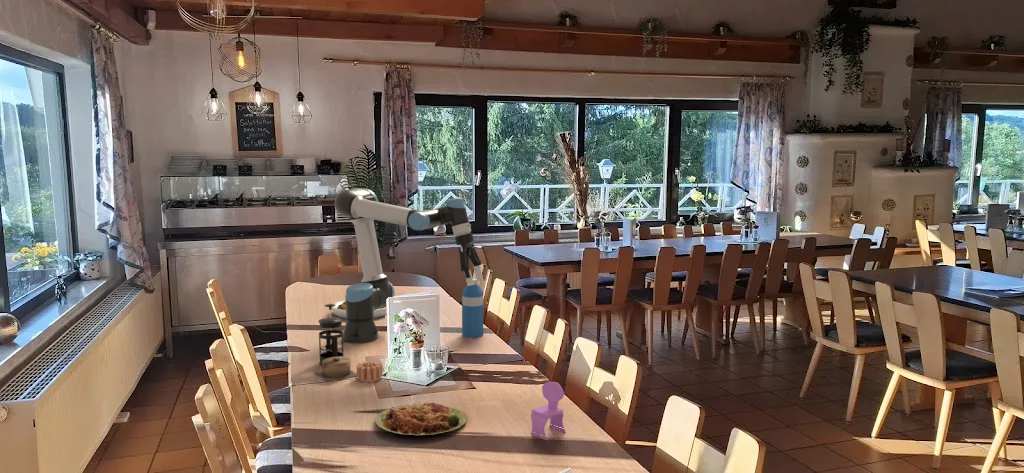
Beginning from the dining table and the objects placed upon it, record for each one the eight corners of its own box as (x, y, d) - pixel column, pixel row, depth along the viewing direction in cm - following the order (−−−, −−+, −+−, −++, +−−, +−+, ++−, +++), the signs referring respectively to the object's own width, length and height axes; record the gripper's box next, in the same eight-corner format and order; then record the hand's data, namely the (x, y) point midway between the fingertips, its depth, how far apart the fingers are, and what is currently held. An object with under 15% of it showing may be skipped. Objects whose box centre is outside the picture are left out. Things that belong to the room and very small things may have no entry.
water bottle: (482, 338, 316) (482, 281, 313) (461, 337, 316) (461, 281, 313) (483, 332, 326) (483, 277, 322) (463, 332, 326) (462, 277, 323)
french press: (316, 360, 282) (314, 302, 279) (340, 357, 286) (339, 300, 283) (323, 369, 271) (321, 309, 268) (348, 365, 276) (346, 306, 273)
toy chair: (527, 433, 212) (527, 384, 210) (547, 425, 218) (548, 377, 216) (548, 442, 206) (548, 391, 204) (568, 433, 212) (569, 384, 211)
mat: (314, 373, 266) (314, 372, 266) (345, 367, 273) (345, 366, 273) (327, 382, 257) (327, 381, 257) (358, 375, 264) (358, 375, 264)
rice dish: (423, 403, 240) (422, 387, 239) (486, 420, 222) (485, 403, 222) (355, 429, 218) (355, 411, 218) (419, 450, 201) (418, 431, 200)
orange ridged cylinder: (352, 377, 262) (352, 364, 261) (375, 373, 267) (375, 359, 267) (363, 384, 255) (363, 370, 254) (386, 379, 260) (386, 366, 259)
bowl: (326, 310, 368) (326, 295, 367) (384, 305, 381) (384, 290, 380) (338, 323, 341) (338, 307, 340) (400, 317, 354) (400, 301, 353)
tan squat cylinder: (318, 372, 266) (317, 357, 265) (343, 367, 272) (343, 352, 271) (328, 380, 258) (328, 364, 257) (355, 374, 264) (354, 359, 263)
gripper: (462, 234, 292) (475, 285, 292) (479, 229, 316) (492, 277, 316) (445, 238, 294) (458, 289, 294) (463, 234, 318) (476, 280, 318)
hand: (475, 283), depth 305 cm, fingers open, 13 cm apart
